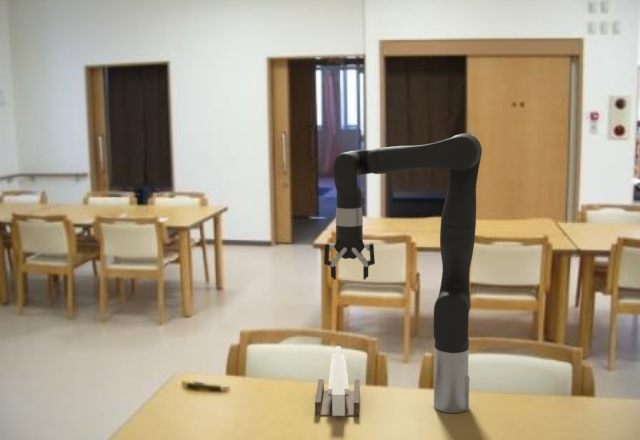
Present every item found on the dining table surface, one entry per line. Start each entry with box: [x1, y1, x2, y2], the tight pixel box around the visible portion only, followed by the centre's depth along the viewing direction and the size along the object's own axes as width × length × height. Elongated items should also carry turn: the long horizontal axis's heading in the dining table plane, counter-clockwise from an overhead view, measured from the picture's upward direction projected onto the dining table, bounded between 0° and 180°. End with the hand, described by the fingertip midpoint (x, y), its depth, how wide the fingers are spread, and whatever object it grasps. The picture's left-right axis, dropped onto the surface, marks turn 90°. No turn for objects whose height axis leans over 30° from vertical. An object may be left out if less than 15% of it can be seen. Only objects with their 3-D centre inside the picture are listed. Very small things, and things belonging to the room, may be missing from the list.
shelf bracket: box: [327, 345, 350, 417], centre depth 204 cm, size 6×25×13 cm, turn 179°
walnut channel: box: [314, 378, 361, 417], centre depth 203 cm, size 12×16×4 cm
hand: (349, 279), depth 205 cm, fingers open, 8 cm apart
